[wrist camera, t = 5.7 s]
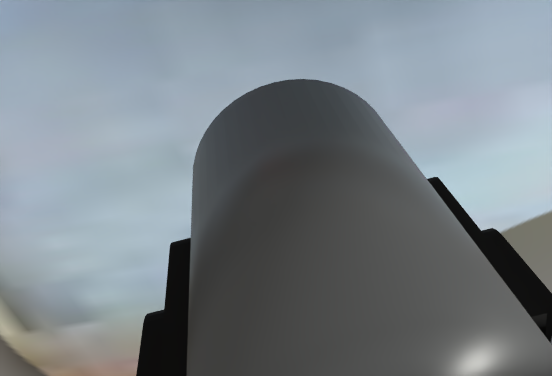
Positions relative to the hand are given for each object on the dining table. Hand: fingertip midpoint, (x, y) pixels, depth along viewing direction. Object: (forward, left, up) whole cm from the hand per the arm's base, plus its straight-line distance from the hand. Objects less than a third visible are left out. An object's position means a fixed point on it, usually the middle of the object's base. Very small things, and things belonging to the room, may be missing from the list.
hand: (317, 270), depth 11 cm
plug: (0, 0, -1) cm, 1 cm away
